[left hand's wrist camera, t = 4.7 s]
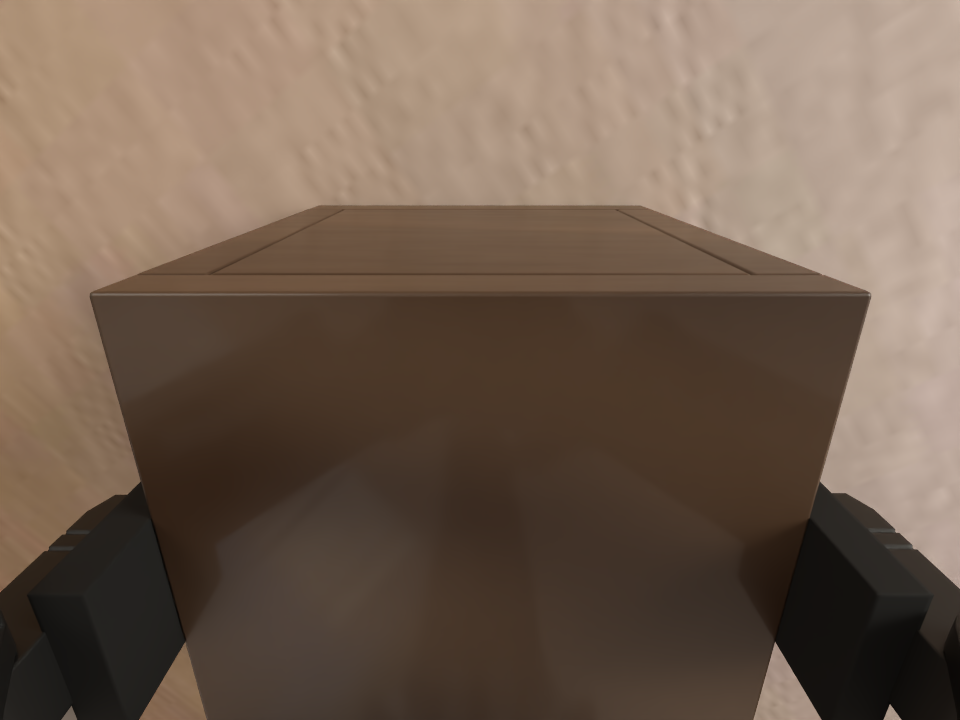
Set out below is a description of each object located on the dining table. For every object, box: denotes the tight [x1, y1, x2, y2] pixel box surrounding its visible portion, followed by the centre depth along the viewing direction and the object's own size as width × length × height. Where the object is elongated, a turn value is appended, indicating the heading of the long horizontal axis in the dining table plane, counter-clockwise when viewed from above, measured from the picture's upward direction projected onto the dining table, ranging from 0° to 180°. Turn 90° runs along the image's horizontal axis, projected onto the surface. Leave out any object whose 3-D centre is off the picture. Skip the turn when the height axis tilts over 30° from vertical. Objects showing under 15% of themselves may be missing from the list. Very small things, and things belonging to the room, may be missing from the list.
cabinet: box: [90, 206, 871, 720], centre depth 16 cm, size 21×11×11 cm, turn 0°
